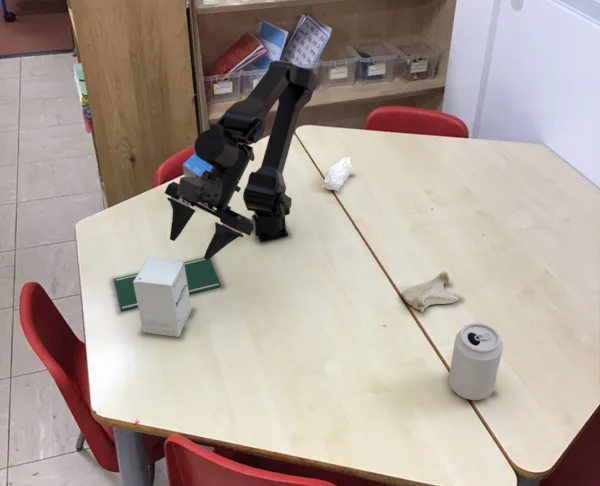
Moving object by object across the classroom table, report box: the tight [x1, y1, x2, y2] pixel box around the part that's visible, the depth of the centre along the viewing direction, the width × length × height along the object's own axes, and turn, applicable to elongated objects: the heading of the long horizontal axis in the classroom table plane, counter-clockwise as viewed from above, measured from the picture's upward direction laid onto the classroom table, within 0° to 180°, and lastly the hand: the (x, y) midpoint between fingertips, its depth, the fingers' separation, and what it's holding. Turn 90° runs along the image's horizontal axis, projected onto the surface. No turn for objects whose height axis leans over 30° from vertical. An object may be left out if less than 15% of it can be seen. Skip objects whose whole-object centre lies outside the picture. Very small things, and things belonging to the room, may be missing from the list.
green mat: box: [113, 257, 222, 313], centre depth 136 cm, size 20×10×1 cm, turn 110°
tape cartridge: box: [182, 144, 212, 206], centre depth 158 cm, size 9×4×12 cm, turn 41°
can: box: [448, 322, 504, 401], centre depth 110 cm, size 8×8×12 cm
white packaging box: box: [133, 256, 192, 338], centre depth 124 cm, size 7×7×13 cm
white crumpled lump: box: [321, 155, 353, 192], centre depth 164 cm, size 5×7×10 cm
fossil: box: [402, 271, 459, 312], centre depth 131 cm, size 7×11×3 cm, turn 117°
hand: (188, 249), depth 124 cm, fingers open, 9 cm apart
